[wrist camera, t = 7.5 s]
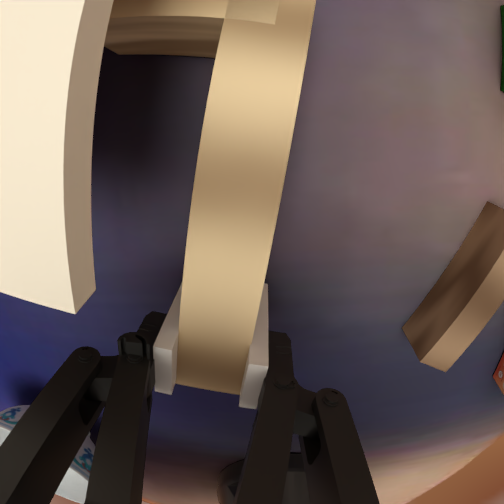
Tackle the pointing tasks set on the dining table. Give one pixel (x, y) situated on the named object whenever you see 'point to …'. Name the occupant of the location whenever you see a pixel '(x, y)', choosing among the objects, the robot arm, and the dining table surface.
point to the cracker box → (500, 374)
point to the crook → (227, 160)
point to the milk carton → (503, 80)
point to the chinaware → (80, 467)
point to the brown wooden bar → (462, 295)
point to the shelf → (48, 147)
